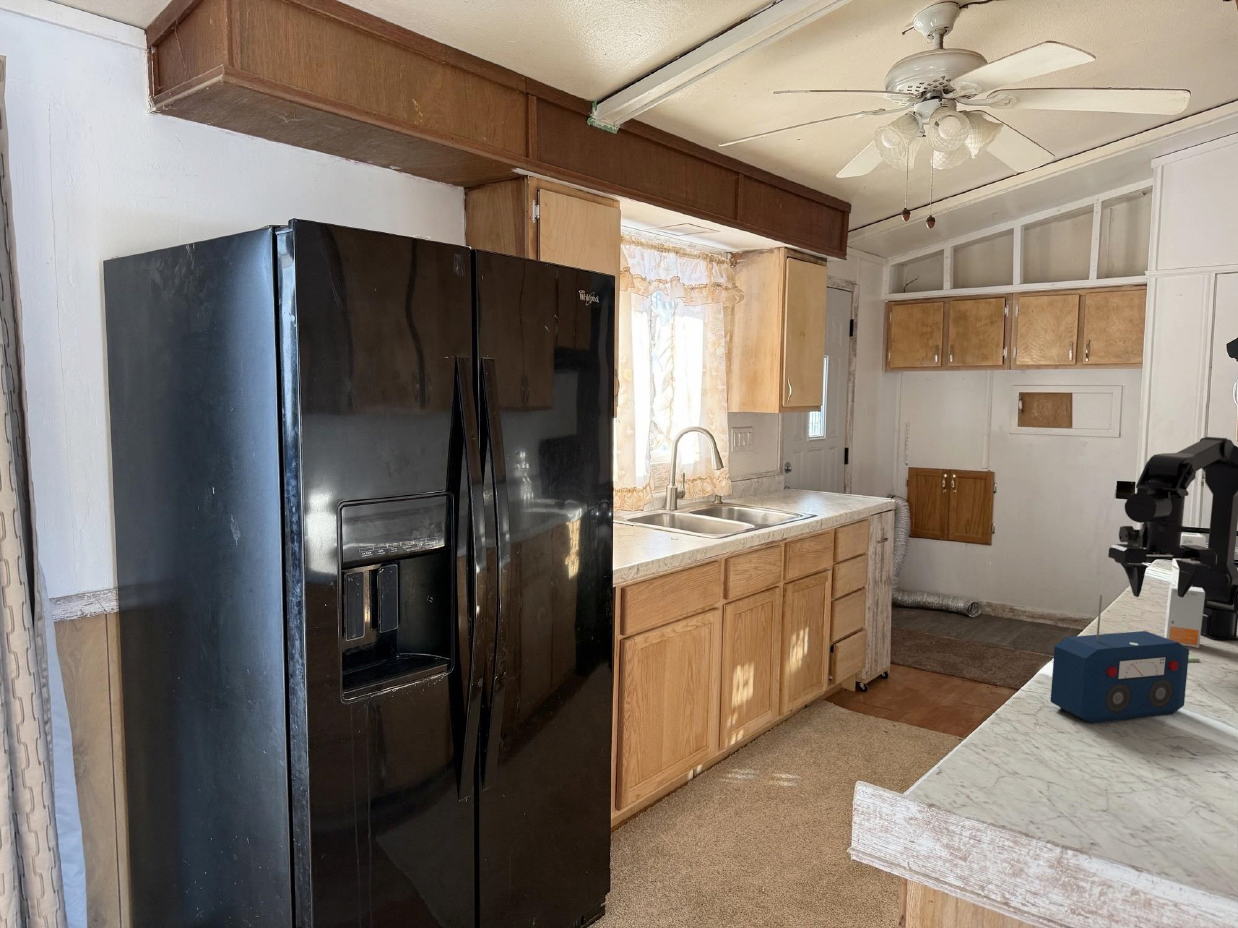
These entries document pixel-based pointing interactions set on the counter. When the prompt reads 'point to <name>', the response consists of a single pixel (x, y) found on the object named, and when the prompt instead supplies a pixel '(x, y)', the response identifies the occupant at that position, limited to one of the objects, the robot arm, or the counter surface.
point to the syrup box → (1186, 540)
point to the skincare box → (1184, 616)
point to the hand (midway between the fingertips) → (1158, 596)
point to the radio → (1119, 675)
